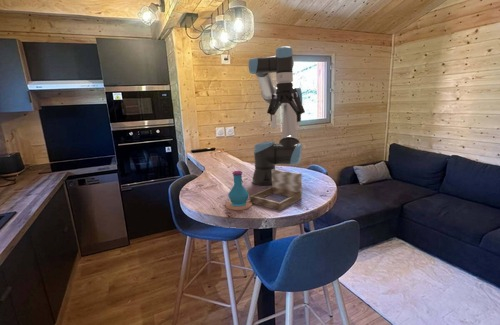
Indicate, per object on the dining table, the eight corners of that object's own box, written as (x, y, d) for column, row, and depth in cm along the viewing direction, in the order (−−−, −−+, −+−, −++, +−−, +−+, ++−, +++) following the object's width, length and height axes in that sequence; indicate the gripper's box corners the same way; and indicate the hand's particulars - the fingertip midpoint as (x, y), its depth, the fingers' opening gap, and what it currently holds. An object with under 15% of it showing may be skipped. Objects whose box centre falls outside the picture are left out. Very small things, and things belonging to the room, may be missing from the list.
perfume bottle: (228, 200, 127) (226, 169, 124) (248, 199, 127) (246, 168, 124) (229, 208, 118) (227, 174, 115) (250, 206, 119) (248, 173, 115)
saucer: (220, 206, 122) (220, 204, 122) (238, 198, 131) (238, 197, 131) (239, 212, 115) (239, 210, 114) (257, 204, 123) (257, 202, 123)
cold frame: (250, 202, 126) (249, 177, 124) (273, 191, 140) (273, 169, 137) (280, 210, 115) (279, 183, 113) (302, 197, 129) (302, 173, 126)
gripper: (259, 84, 132) (260, 128, 136) (303, 80, 115) (303, 130, 119) (268, 84, 137) (270, 126, 142) (312, 80, 120) (312, 128, 125)
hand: (285, 128), depth 131 cm, fingers open, 13 cm apart
